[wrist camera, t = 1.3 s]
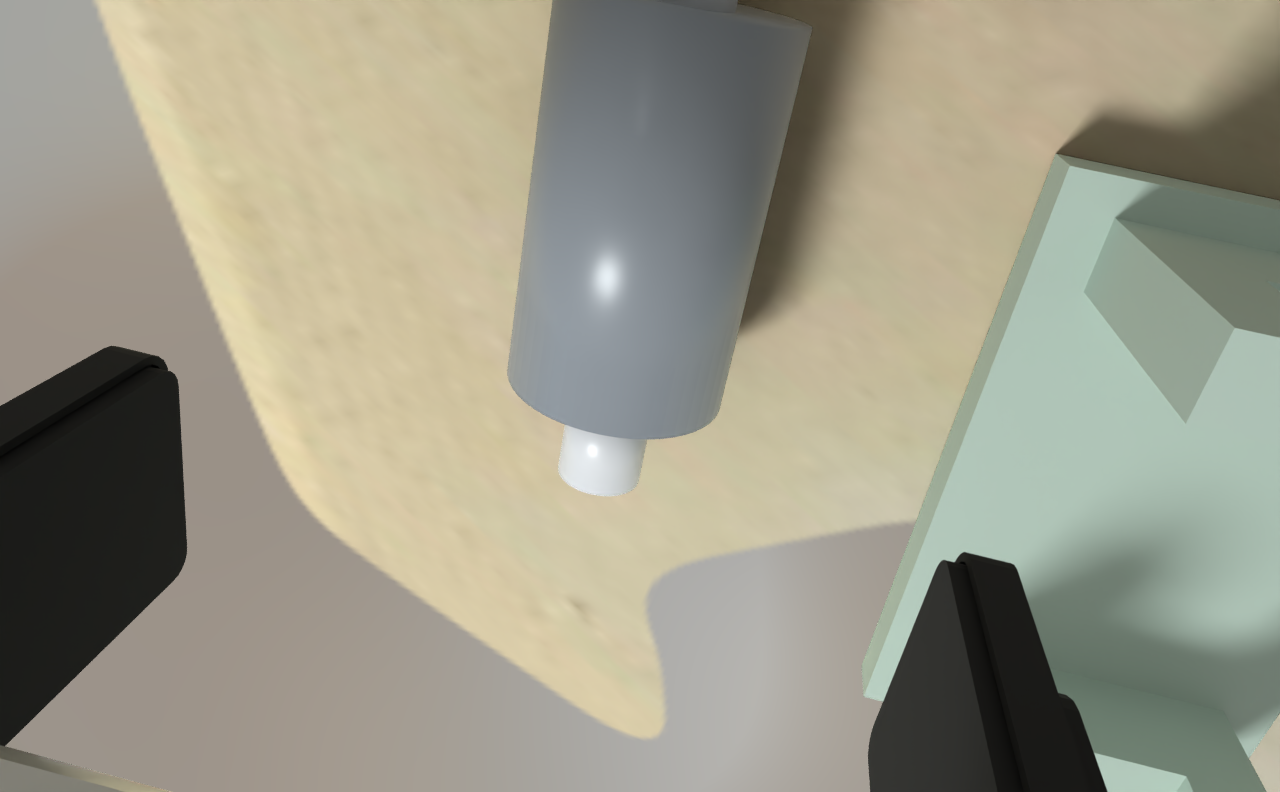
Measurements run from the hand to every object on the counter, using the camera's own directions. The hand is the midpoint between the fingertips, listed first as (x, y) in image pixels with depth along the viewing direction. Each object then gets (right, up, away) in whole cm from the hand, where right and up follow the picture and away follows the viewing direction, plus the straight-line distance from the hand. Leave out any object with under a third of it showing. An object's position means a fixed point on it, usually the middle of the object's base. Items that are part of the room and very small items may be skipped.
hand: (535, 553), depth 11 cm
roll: (+3, +8, +15) cm, 17 cm away
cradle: (+16, -1, +17) cm, 24 cm away
